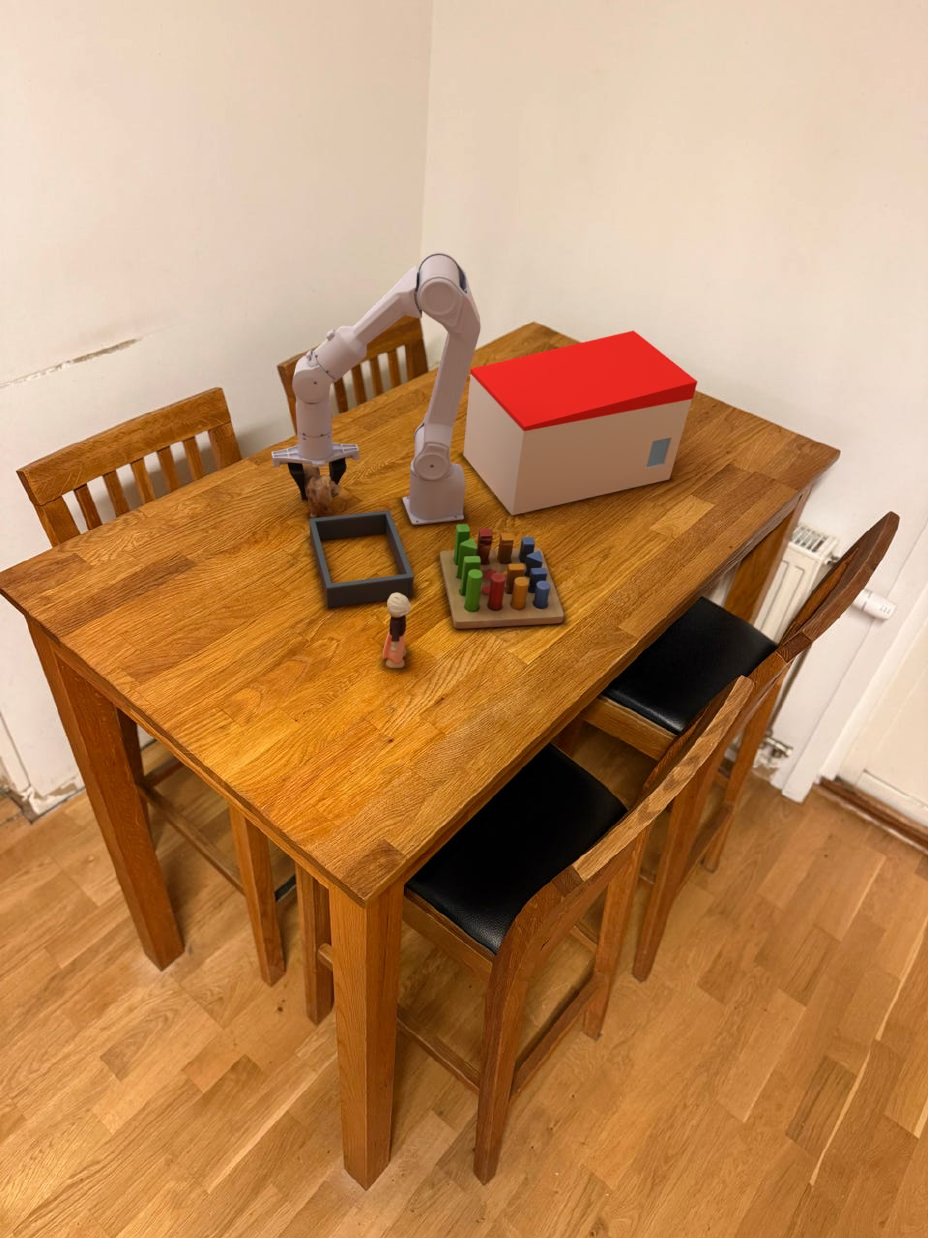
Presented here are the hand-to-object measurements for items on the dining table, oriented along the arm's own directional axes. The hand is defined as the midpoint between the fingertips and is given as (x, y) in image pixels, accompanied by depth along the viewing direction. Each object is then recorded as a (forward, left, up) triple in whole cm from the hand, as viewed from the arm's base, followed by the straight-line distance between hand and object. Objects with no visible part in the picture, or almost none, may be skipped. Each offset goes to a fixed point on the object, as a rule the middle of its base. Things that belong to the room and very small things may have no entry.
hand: (317, 495), depth 156 cm
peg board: (-25, +28, -2) cm, 38 cm away
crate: (-4, +18, -2) cm, 19 cm away
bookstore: (-49, -4, -2) cm, 49 cm away
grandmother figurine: (-5, +40, -2) cm, 40 cm away
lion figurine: (0, 0, -2) cm, 2 cm away
